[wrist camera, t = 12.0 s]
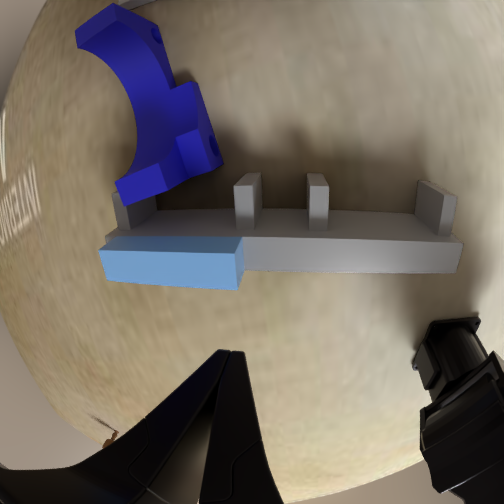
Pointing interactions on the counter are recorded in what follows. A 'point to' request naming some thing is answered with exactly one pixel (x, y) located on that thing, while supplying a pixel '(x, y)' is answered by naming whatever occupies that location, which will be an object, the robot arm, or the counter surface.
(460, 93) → the counter surface
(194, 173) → the cable clip
